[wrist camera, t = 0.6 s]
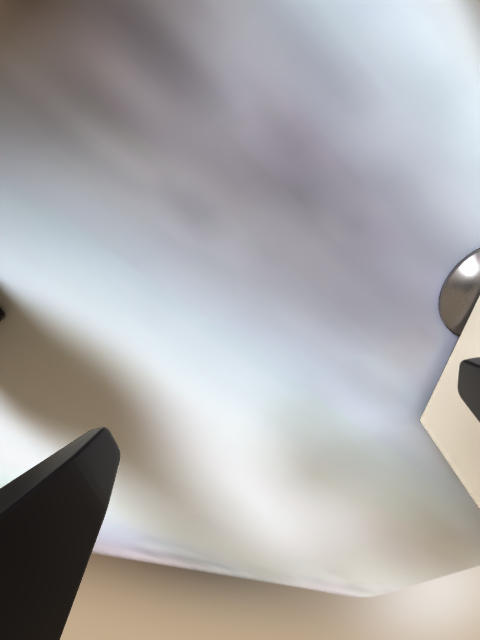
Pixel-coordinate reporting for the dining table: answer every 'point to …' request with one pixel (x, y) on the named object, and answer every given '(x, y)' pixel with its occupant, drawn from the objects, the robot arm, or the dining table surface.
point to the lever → (457, 412)
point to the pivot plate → (460, 292)
